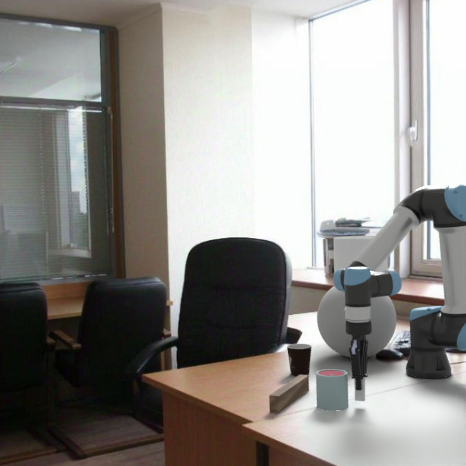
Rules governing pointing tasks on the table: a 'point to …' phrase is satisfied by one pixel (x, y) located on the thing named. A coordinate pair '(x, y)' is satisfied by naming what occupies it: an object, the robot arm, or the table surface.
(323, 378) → the mug
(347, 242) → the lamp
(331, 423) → the table surface
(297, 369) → the coffee mug
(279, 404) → the batten
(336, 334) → the sphere
